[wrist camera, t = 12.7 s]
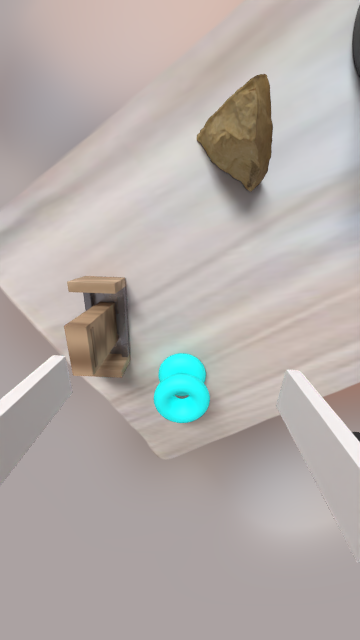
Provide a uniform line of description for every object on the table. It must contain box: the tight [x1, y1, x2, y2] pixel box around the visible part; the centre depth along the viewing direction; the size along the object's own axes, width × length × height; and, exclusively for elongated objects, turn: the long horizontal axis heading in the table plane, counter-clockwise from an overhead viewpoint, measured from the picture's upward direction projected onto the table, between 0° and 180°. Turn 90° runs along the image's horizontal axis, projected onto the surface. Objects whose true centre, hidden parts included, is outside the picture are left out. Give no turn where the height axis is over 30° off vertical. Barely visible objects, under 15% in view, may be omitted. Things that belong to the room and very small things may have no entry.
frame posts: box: [67, 276, 130, 378], centre depth 37 cm, size 18×7×6 cm, turn 178°
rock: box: [197, 74, 273, 192], centre depth 27 cm, size 11×9×10 cm
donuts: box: [154, 353, 210, 423], centre depth 39 cm, size 10×10×10 cm
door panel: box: [64, 302, 118, 376], centre depth 34 cm, size 8×3×12 cm, turn 178°
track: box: [83, 286, 130, 357], centre depth 39 cm, size 14×7×2 cm, turn 178°
